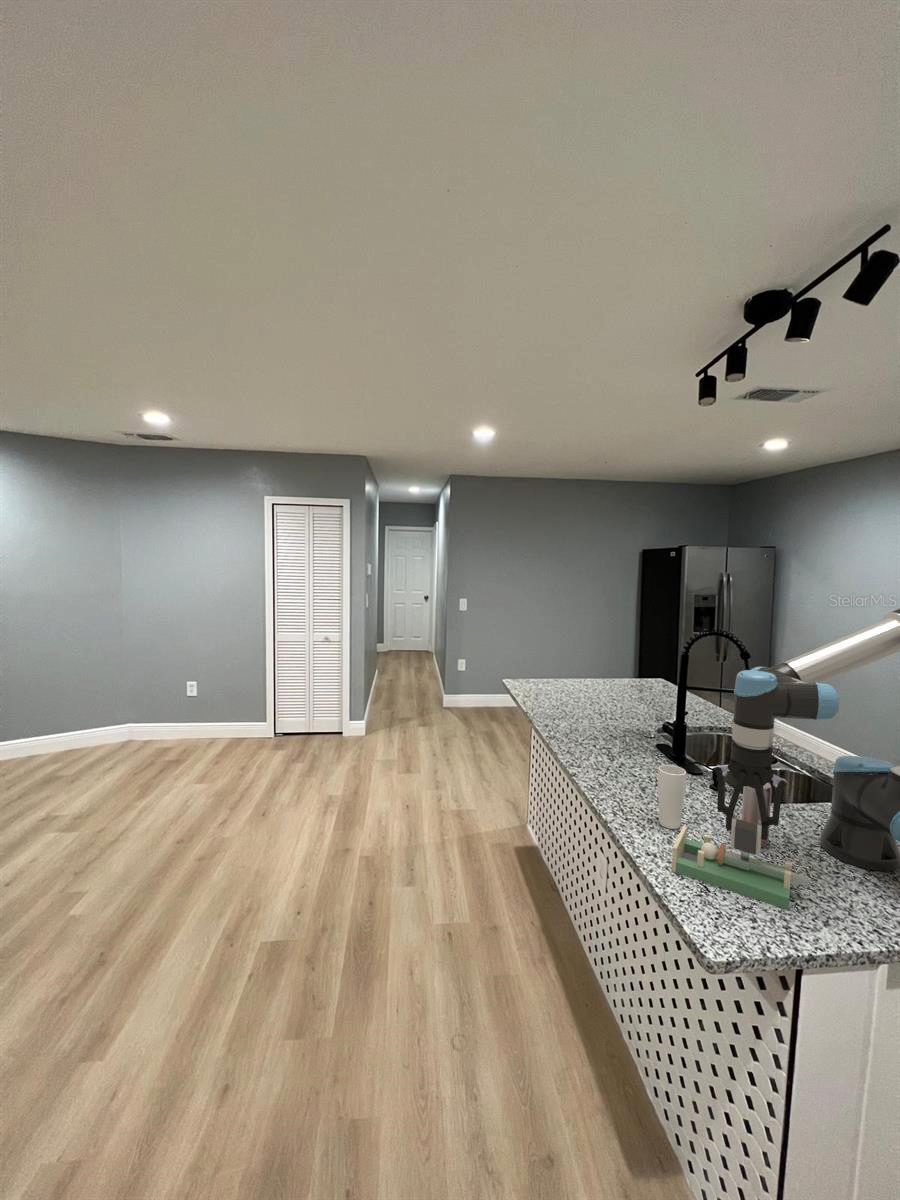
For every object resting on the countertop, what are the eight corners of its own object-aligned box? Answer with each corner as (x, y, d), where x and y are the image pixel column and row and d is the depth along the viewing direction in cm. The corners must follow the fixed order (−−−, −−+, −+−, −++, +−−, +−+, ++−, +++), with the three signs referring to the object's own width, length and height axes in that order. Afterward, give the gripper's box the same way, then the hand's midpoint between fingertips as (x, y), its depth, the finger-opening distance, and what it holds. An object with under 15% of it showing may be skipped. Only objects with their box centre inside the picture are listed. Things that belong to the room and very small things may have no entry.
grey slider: (808, 880, 109) (811, 837, 108) (808, 891, 105) (811, 847, 104) (720, 854, 118) (722, 814, 117) (717, 863, 114) (719, 822, 114)
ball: (715, 838, 118) (699, 841, 120) (712, 845, 115) (696, 847, 117) (722, 854, 117) (706, 856, 119) (719, 861, 115) (704, 863, 116)
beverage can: (743, 832, 134) (746, 775, 132) (769, 840, 130) (773, 782, 129) (738, 842, 129) (741, 783, 128) (765, 850, 125) (769, 790, 124)
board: (790, 880, 114) (792, 855, 113) (788, 909, 104) (790, 883, 104) (682, 847, 126) (683, 825, 126) (671, 871, 116) (672, 847, 116)
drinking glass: (667, 833, 133) (669, 776, 132) (650, 820, 139) (652, 765, 138) (689, 829, 135) (692, 773, 133) (671, 817, 141) (674, 763, 140)
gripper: (800, 747, 110) (792, 853, 111) (710, 731, 119) (704, 829, 121) (800, 758, 103) (792, 870, 105) (705, 740, 113) (699, 843, 115)
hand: (745, 848), depth 113 cm, fingers closed on grey slider, 4 cm apart
